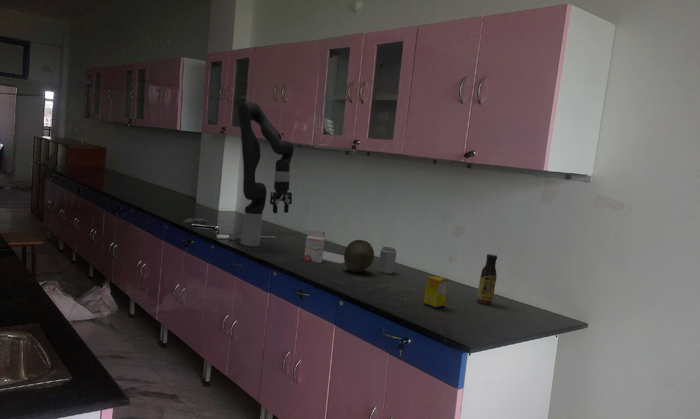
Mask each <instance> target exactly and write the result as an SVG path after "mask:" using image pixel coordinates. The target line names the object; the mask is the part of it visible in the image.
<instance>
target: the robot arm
mask: <svg viewBox="0 0 700 419" xmlns="http://www.w3.org/2000/svg"><path fill="white" fill-rule="evenodd" d="M237 115H238V122H239V127H240V135H241V152H242V162H243V163H242V164H243V165H242V166H243V180H242V181H243V182H242V183H243V186H242V189H243V190H242V191H243V195H244V198H245V199H246V200H248V201H251V202H250V203H249V204H248V205H246V206H245V207H244V216H243V225H242V226H241V232H240V242H239V243H240V244H241V245H242V246H245V247H260V241H261V233H262V232H261V231H262V224H263V223H262V222H263V212H264V210H265V207H266V199H267V187H266V185H265V184H264V183H262V182H256V170H257V167H258V165H259V163H260V160H261V145H260V141H259V140H258V138H257V135H256V134H255V132H254V130H253V128H252V122H253V121H254V122H255V123H256V124H258V126H259V127H260V132H261V134H262V136H263V137H264V138H265V139H266V141H267V142H268V143H269V145H270V146H271V150H272V151H273V152H274V153H275V154H277V155H281V158H279V159H277V160H276V162H275V172H274V180H273V181H274V184H273V190H274V191H273V192H270V198H269V199H270V200H269V204H270V205H272V213H273V214H278V208H279V207H278V205H279V203H280V202H282V203H283V204H284V206H283V213H284V214H288V213H289V206H290V205H292V204H293V203H292V202H293V201H292V199H293V193H292V192H289V190H290V179H291V178H290V177H291V175H290V171H291V170H290V169H291V168H290V166H291V161H292V159H293V155H294V144H293V143H292V142H291V141H289V140H282V135H281V133H280V132H279V131H278V129H276V128H275V127H274V126H273V125H272V123H271V122H270V120H269V119H268V118H267V116H266V114H265V113H264V110H263V109H262V108H261V106H260V105H259V104H257V103H254V102H249V101H241V102H240V103H239V105H238V108H237Z"/></svg>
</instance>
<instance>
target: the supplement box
mask: <svg viewBox="0 0 700 419" xmlns="http://www.w3.org/2000/svg"><path fill="white" fill-rule="evenodd" d="M448 285H449V278H446V277H442V276H439V275H433V276H431V275H430V276H426V282H425V290H424V299H423V306H426V305H427V307H429V306H430V308H432V309H434V308H436V309H442V308H445V307H446V300H447V291H448Z"/></svg>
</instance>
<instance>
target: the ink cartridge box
mask: <svg viewBox="0 0 700 419" xmlns="http://www.w3.org/2000/svg"><path fill="white" fill-rule="evenodd" d="M325 236H326V232H325V231H321V230H313V229H309V230H308V235H307V236H306V239H305V240H306V241H305V249H304V254H305V255H304V254H303V261H304V262H305V261H306V262H310V263H311V262H312V263H319V264H320V263H322V262H323V260H322V258H323V251H325V250H324V248H325V240H326V239H325Z"/></svg>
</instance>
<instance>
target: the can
mask: <svg viewBox="0 0 700 419" xmlns="http://www.w3.org/2000/svg"><path fill="white" fill-rule="evenodd" d="M379 254H380V255H379V263H378V268H377V269H378V271H379V273H380V274H385V275H392V274H394V273H395V265H396V259H397V258H396V257H397V251H396V248H395V247H390V246H382V247H381V249H380V253H379Z"/></svg>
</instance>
